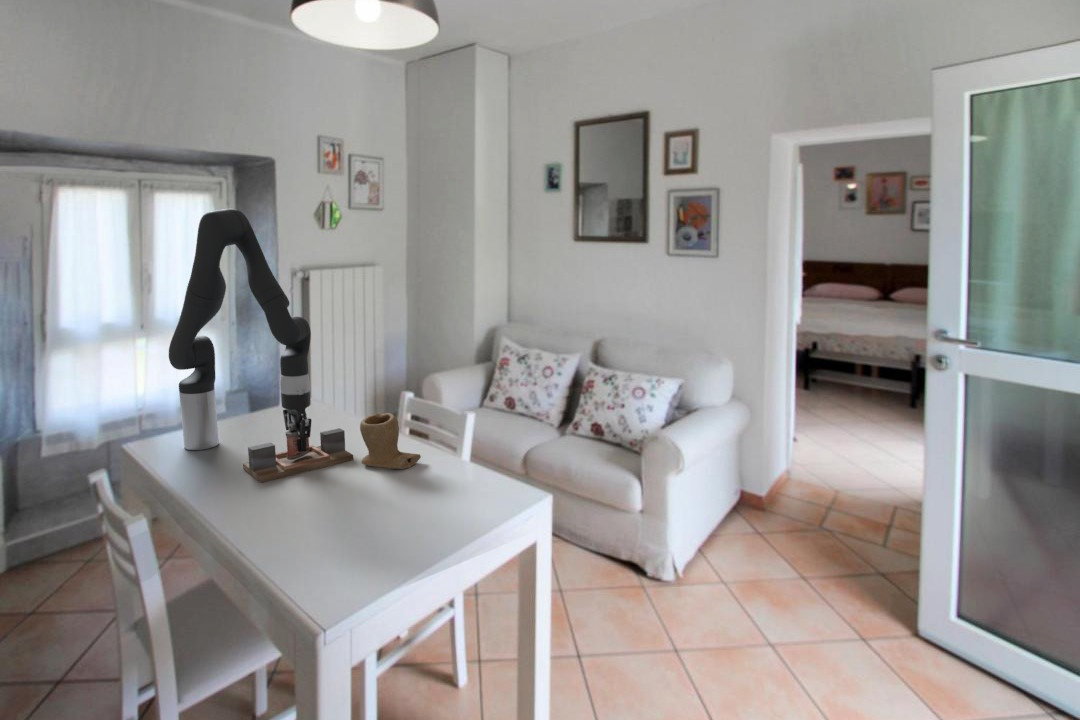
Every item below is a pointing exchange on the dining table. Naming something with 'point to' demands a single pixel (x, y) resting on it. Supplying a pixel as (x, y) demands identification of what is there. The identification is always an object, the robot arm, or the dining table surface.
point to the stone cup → (384, 443)
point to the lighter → (294, 444)
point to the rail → (275, 466)
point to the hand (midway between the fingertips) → (298, 448)
